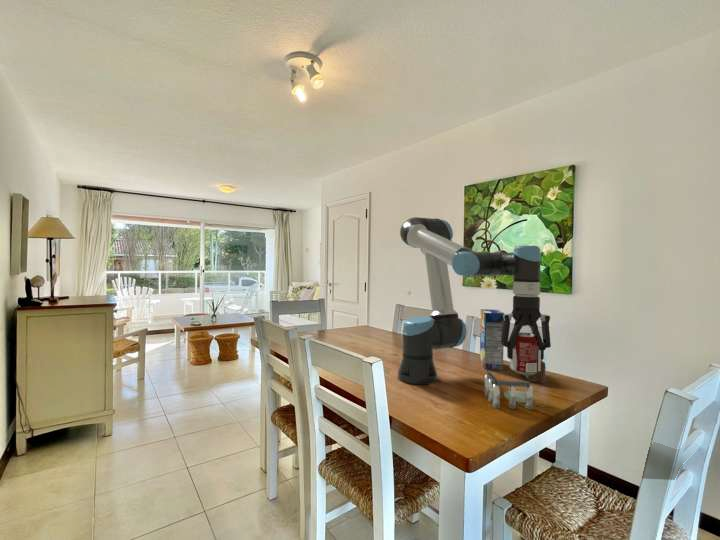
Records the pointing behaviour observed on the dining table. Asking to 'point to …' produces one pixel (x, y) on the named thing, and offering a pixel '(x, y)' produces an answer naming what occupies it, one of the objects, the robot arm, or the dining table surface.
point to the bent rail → (494, 391)
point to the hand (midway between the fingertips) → (525, 369)
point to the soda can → (526, 353)
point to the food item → (538, 375)
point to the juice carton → (491, 339)
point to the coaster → (517, 396)
